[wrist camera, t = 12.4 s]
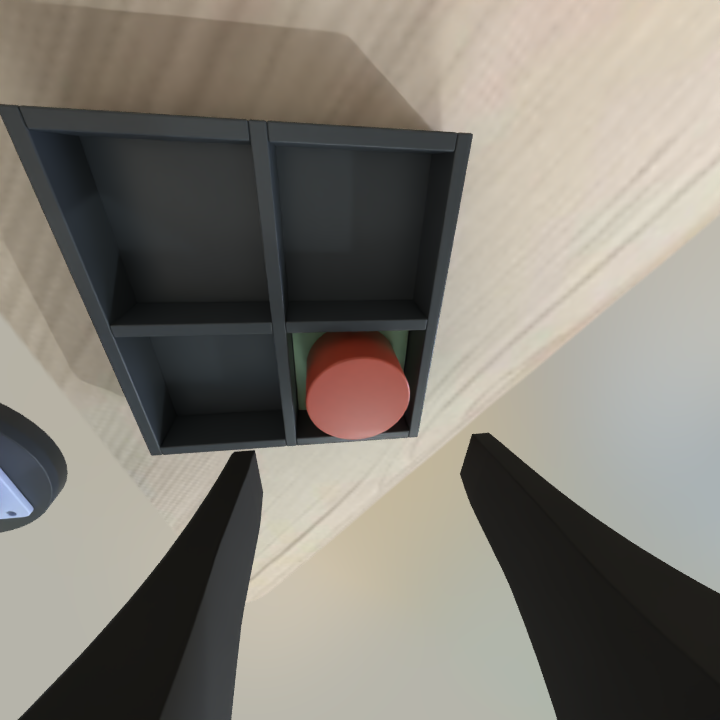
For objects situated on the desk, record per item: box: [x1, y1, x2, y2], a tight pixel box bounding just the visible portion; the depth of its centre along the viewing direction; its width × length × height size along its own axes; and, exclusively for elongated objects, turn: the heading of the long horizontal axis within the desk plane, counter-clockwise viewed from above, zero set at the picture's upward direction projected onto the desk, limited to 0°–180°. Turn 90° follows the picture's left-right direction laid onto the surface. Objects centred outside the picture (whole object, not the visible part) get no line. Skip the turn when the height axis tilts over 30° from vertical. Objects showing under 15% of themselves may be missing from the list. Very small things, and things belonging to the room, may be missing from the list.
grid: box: [0, 104, 473, 456], centre depth 13 cm, size 13×13×3 cm
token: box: [306, 331, 410, 440], centre depth 14 cm, size 4×4×3 cm
